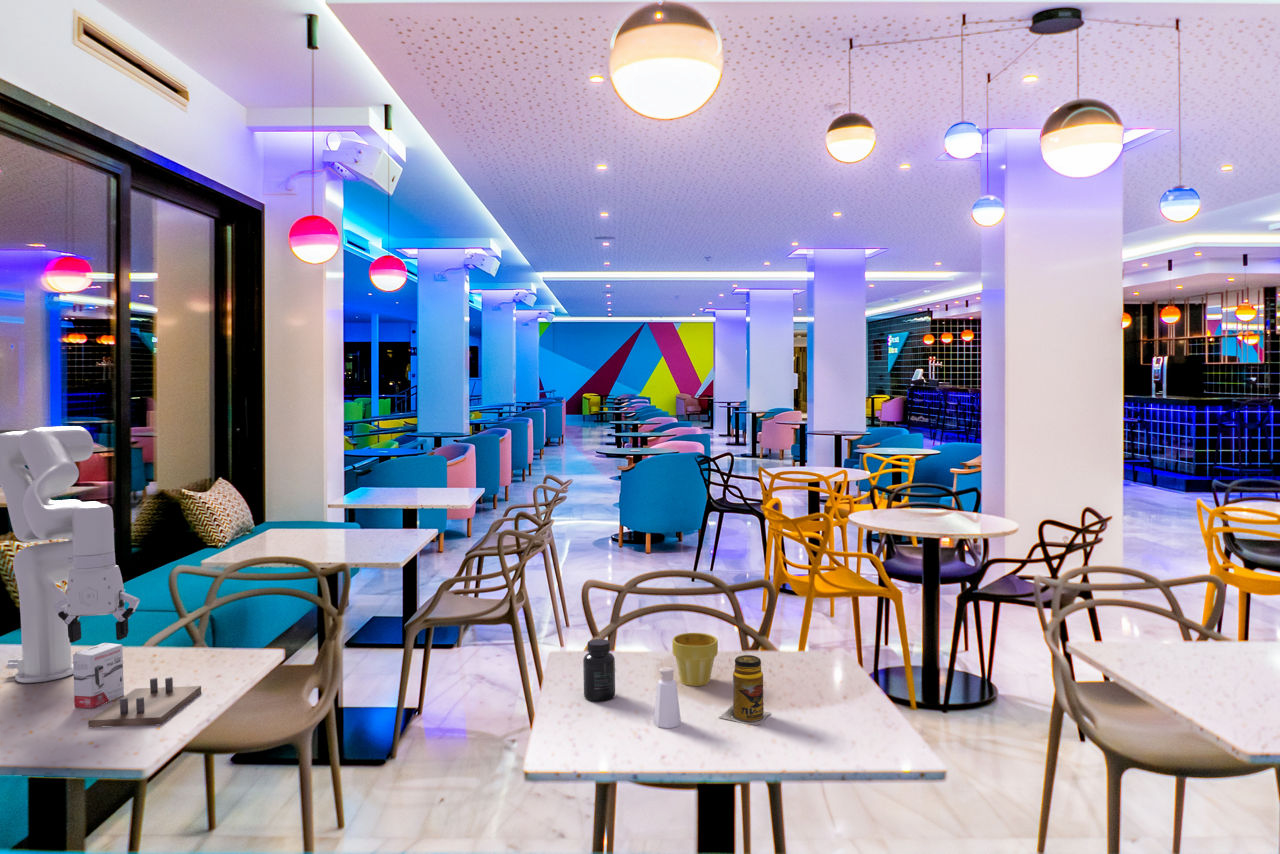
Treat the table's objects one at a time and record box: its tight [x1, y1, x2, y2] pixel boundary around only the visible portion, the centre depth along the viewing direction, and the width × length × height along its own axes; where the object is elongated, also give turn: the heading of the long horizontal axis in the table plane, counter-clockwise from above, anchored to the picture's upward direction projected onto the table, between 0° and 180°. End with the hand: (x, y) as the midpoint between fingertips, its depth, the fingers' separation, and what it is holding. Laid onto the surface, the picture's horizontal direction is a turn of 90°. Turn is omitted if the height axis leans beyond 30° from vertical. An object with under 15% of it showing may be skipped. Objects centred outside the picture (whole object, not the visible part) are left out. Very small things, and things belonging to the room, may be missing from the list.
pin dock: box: [87, 676, 202, 728], centre depth 175 cm, size 14×18×4 cm
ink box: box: [72, 642, 125, 710], centre depth 180 cm, size 9×5×12 cm, turn 168°
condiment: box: [718, 654, 772, 726], centre depth 167 cm, size 7×8×12 cm
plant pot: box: [671, 632, 719, 687], centre depth 187 cm, size 10×10×10 cm
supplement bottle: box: [582, 638, 616, 703], centre depth 178 cm, size 7×7×12 cm
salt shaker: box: [653, 666, 682, 729], centre depth 163 cm, size 5×5×11 cm
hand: (98, 639), depth 179 cm, fingers open, 9 cm apart
